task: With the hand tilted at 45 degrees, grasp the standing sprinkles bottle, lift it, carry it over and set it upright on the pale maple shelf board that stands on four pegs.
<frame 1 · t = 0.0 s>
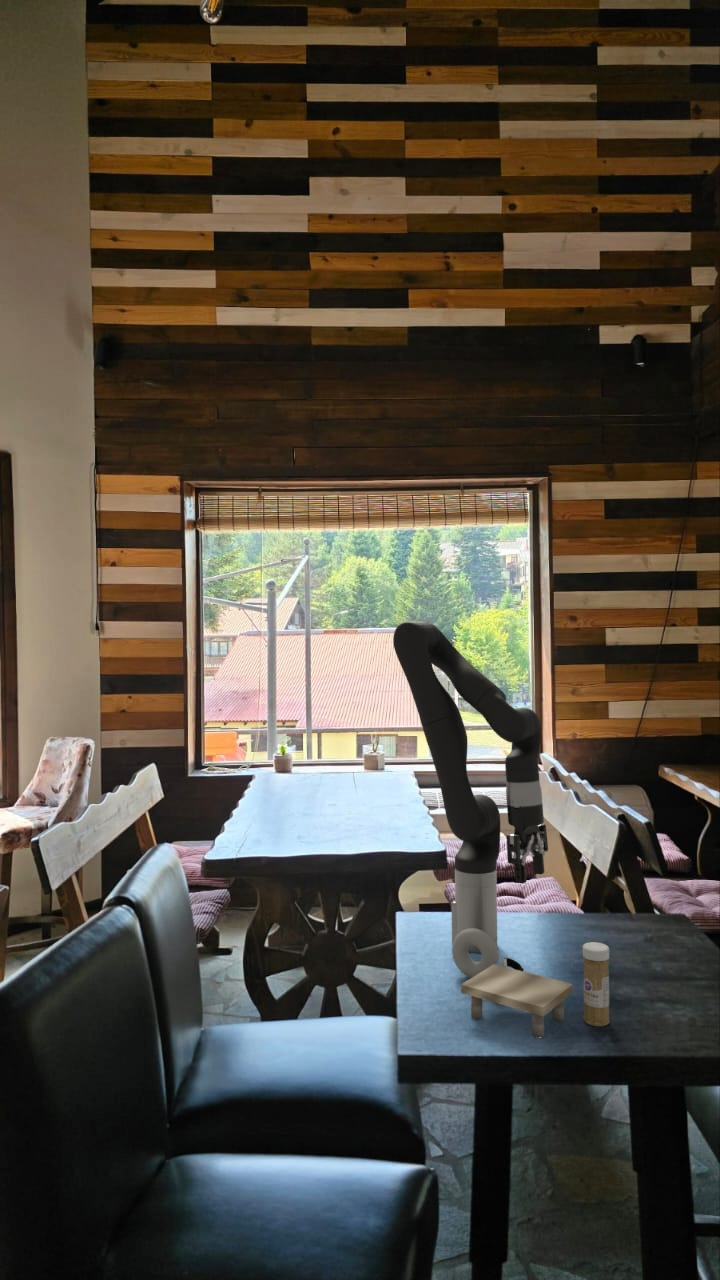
hand: (530, 878, 177), 17 cm above the table, tool pointing down, fingers open, 8 cm apart
watch: (511, 976, 169), on the table
shelf: (517, 1017, 149), on the table
donut: (475, 979, 167), on the table
sprinkles bottle: (596, 1022, 147), on the table
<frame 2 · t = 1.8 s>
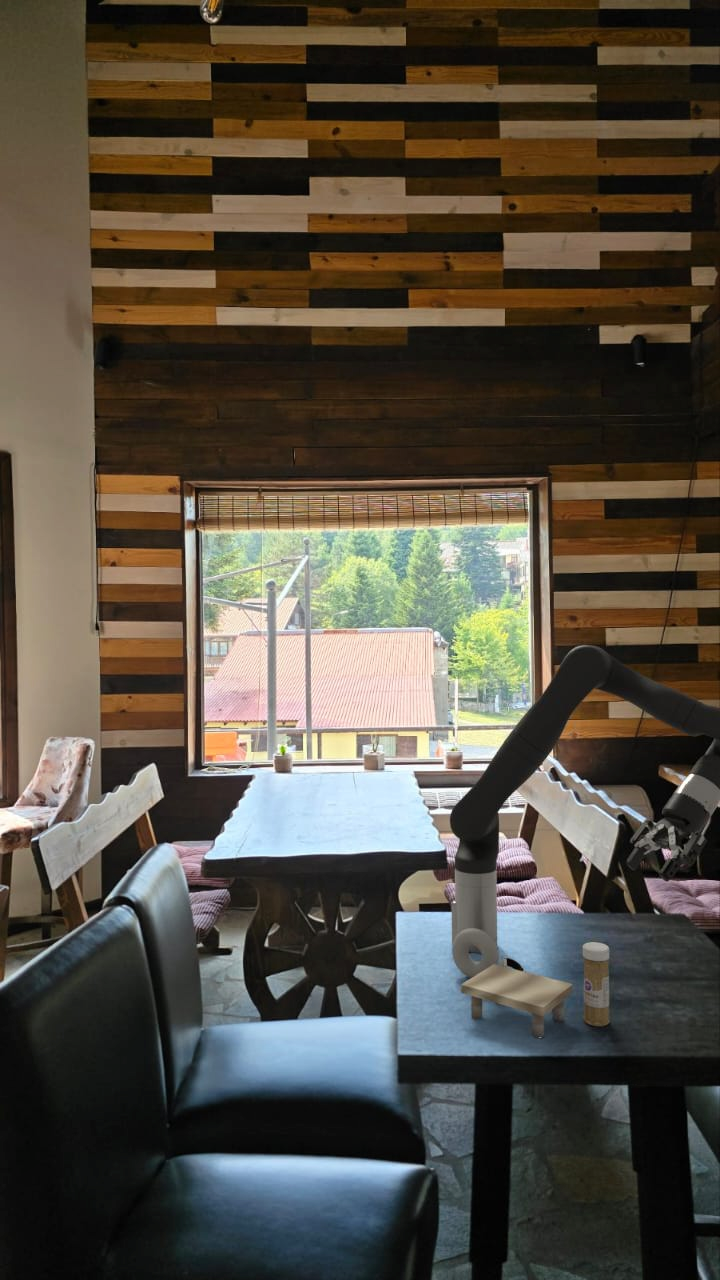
hand: (646, 872, 152), 25 cm above the table, tool tilted 45°, fingers open, 8 cm apart
nothing on the table moved.
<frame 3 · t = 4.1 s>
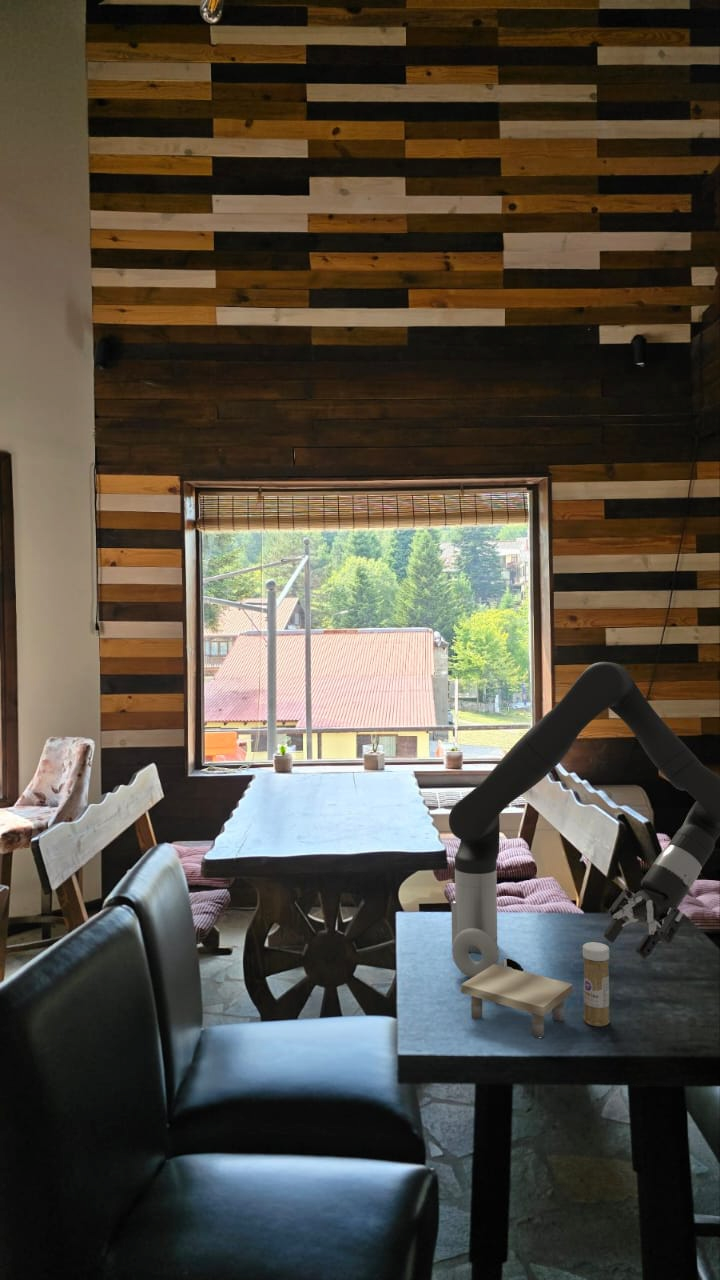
hand: (623, 947, 150), 12 cm above the table, tool tilted 45°, fingers open, 8 cm apart
nothing on the table moved.
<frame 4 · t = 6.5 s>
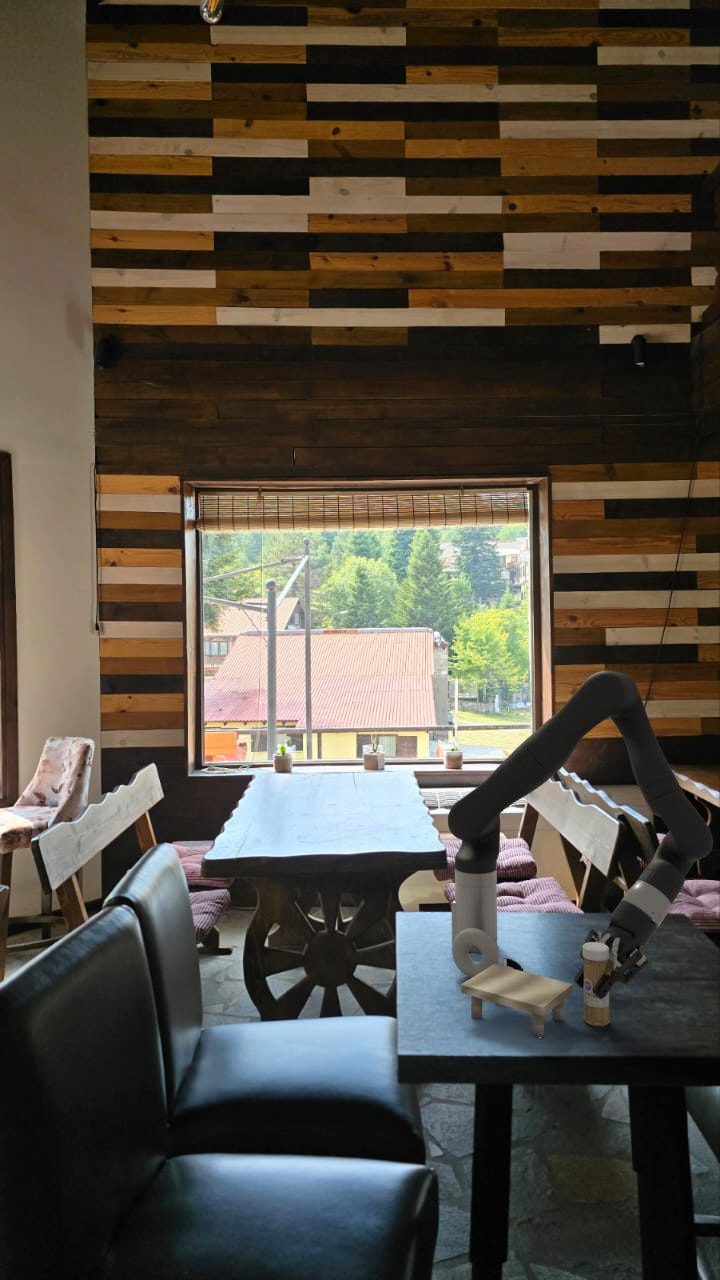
hand: (587, 990, 147), 6 cm above the table, tool tilted 45°, fingers closed on sprinkles bottle, 4 cm apart
sprinkles bottle: (596, 1022, 147), on the table, touching gripper
everything else where it was.
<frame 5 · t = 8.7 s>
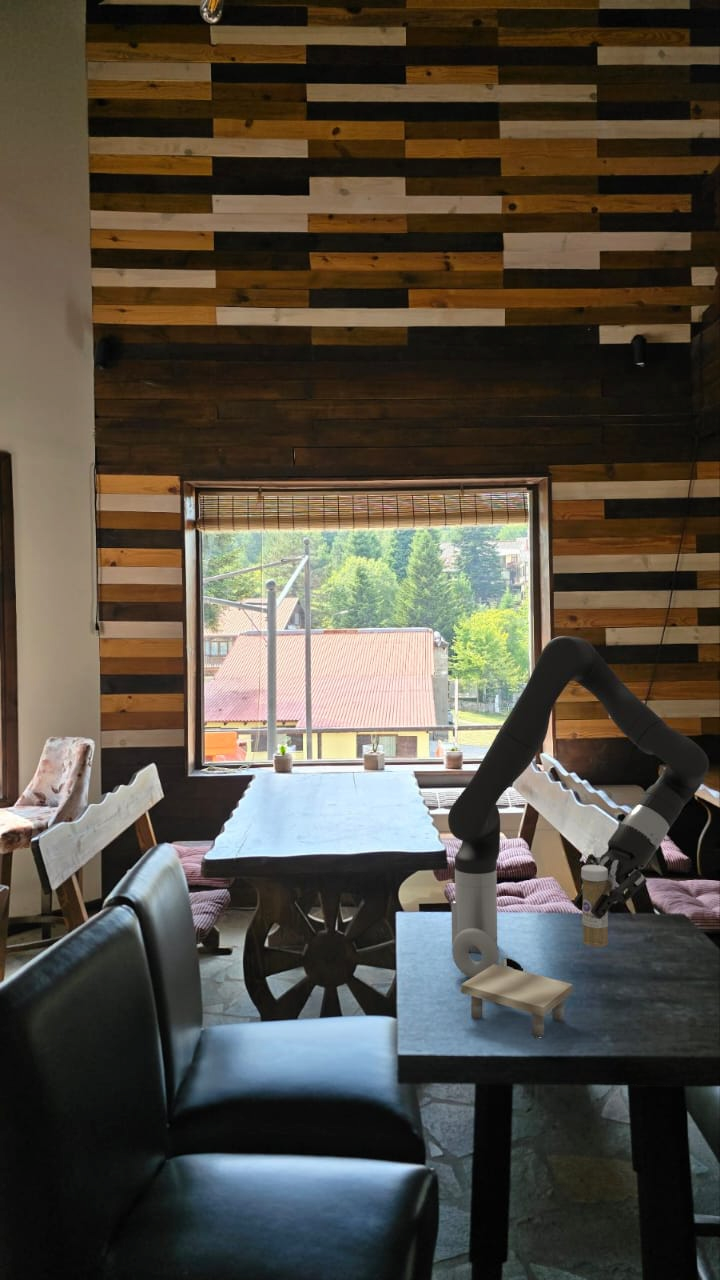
hand: (586, 911, 147), 20 cm above the table, tool tilted 45°, fingers closed on sprinkles bottle, 4 cm apart
sprinkles bottle: (595, 944, 148), point 14 cm above the table, touching gripper
everything else where it was.
when the fingers open (13 cm above the table, at t = 11.2 s): sprinkles bottle drops 1 cm, resting on shelf.
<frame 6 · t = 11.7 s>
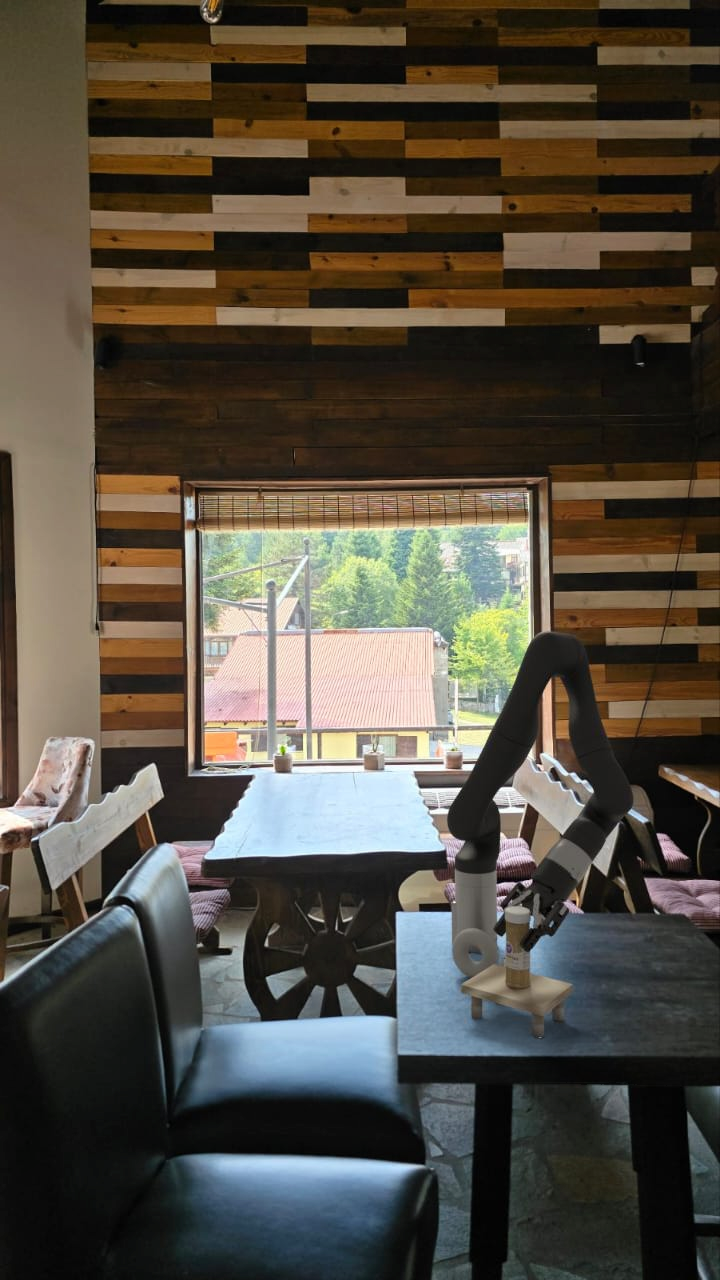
hand: (509, 941, 149), 14 cm above the table, tool tilted 45°, fingers open, 8 cm apart
sprinkles bottle: (518, 985, 149), point 6 cm above the table, touching shelf
everything else where it was.
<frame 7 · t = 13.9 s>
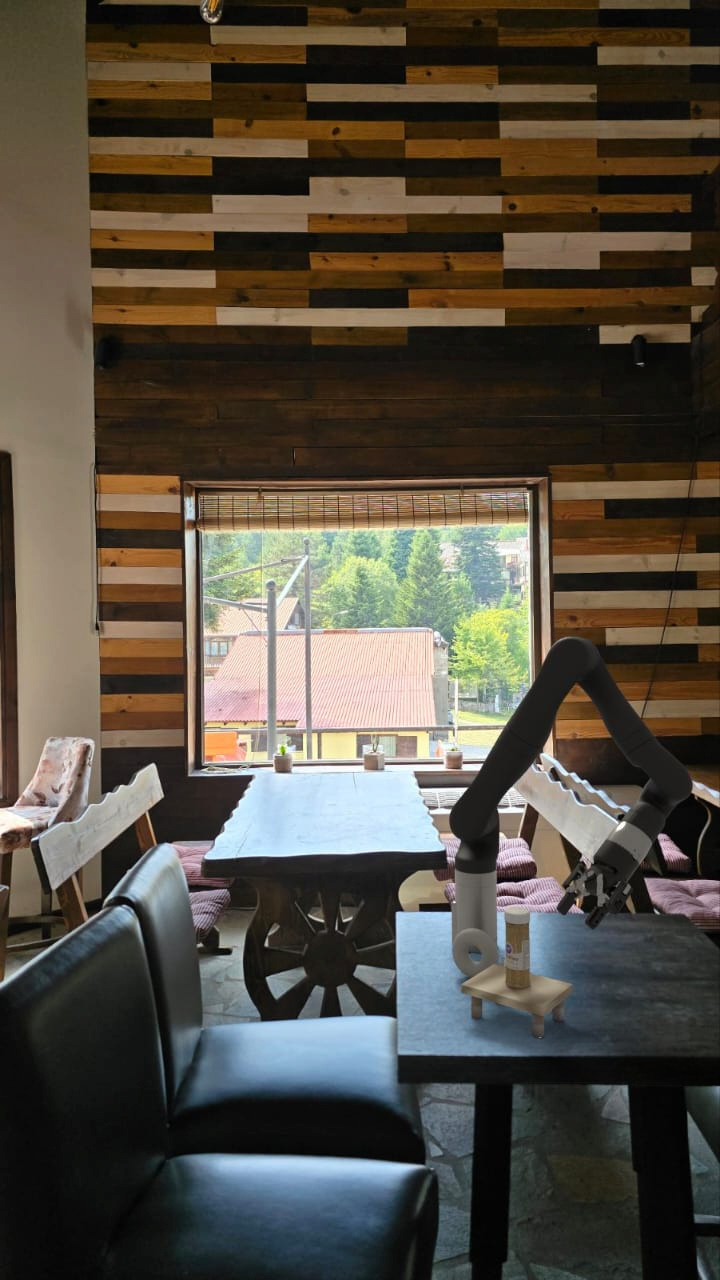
hand: (574, 919, 155), 16 cm above the table, tool tilted 45°, fingers open, 8 cm apart
nothing on the table moved.
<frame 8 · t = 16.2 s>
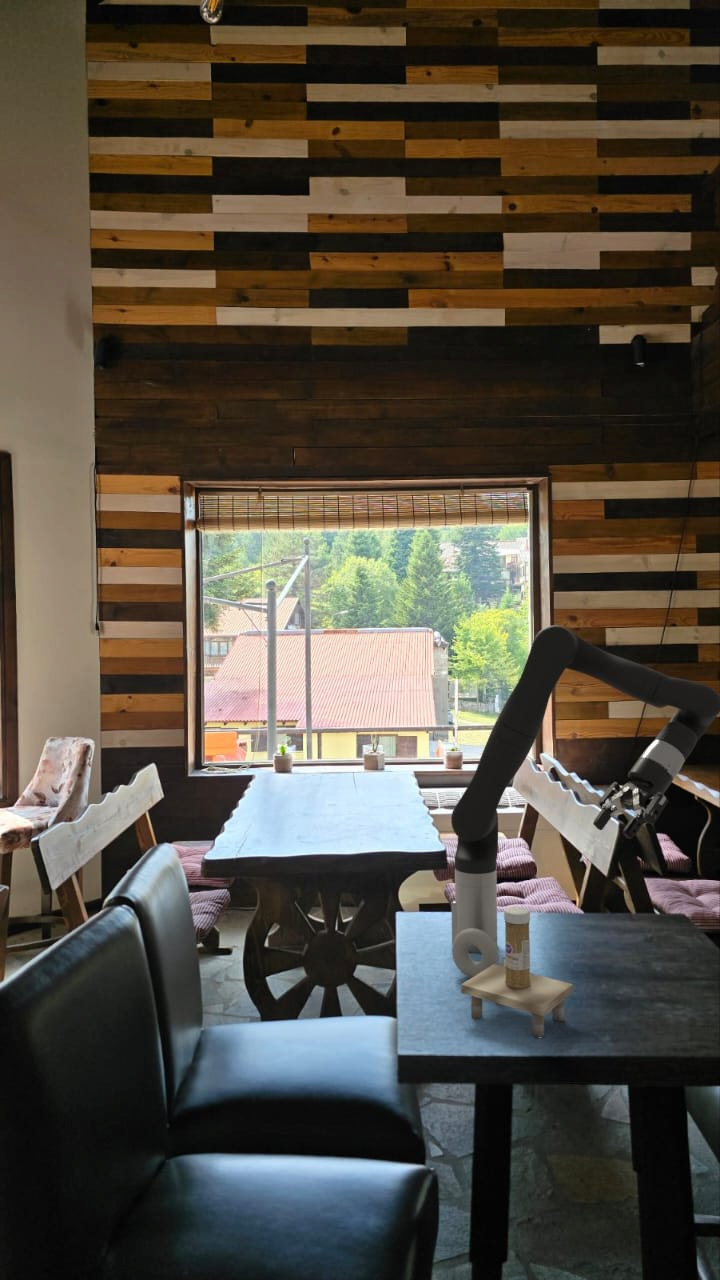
hand: (611, 831, 161), 31 cm above the table, tool tilted 45°, fingers open, 8 cm apart
nothing on the table moved.
at the end: sprinkles bottle inside the target area on the shelf (0.2 cm from its centre), point 5.8 cm above the shelf's base; sprinkles bottle tilted 0°; the gripper is holding nothing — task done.
